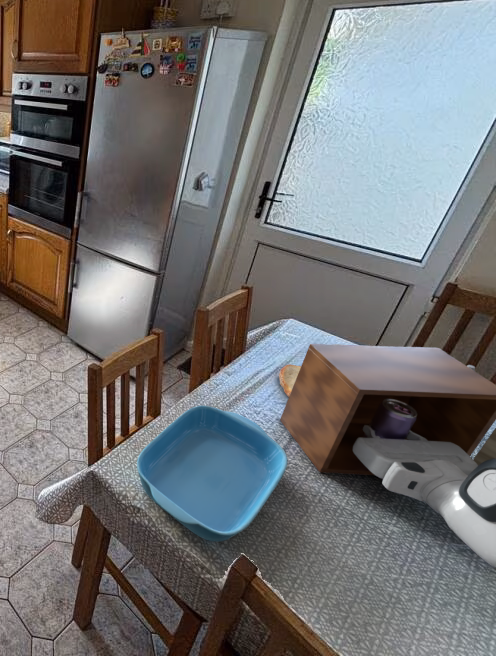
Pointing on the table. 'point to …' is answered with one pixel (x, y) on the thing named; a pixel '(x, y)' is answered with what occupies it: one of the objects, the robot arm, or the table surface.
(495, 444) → the cupboard door
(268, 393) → the table surface
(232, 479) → the casserole dish
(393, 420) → the beverage can
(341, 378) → the cupboard
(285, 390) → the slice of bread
